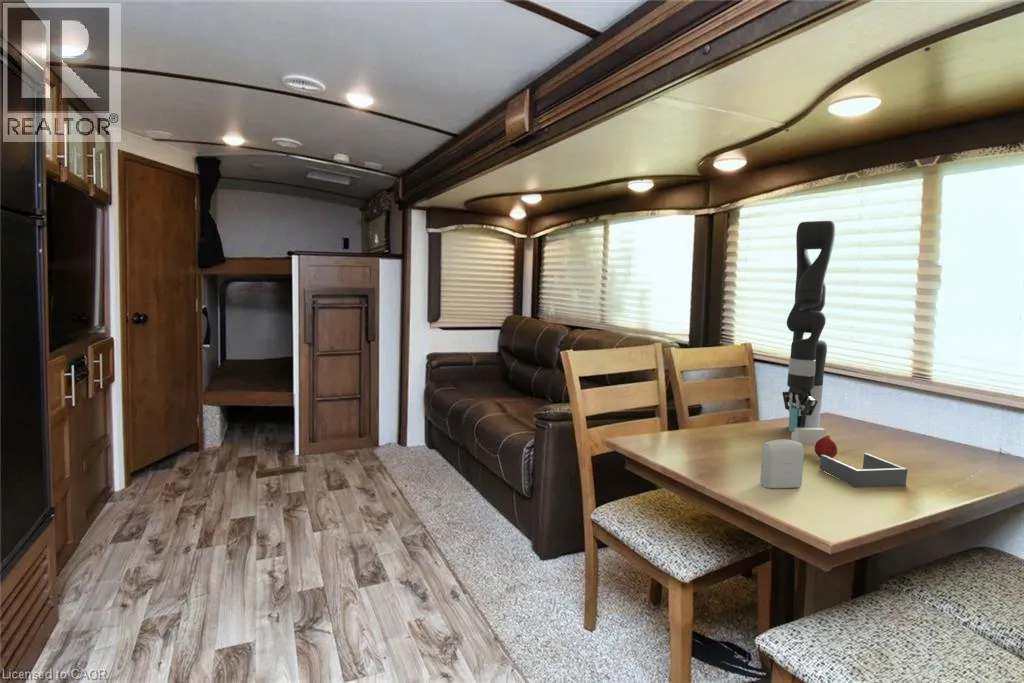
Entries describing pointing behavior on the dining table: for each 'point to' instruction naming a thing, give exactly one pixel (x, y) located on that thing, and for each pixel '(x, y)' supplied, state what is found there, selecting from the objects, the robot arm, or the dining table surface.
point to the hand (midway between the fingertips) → (796, 425)
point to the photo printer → (782, 464)
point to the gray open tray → (866, 472)
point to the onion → (826, 447)
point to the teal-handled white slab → (803, 431)
